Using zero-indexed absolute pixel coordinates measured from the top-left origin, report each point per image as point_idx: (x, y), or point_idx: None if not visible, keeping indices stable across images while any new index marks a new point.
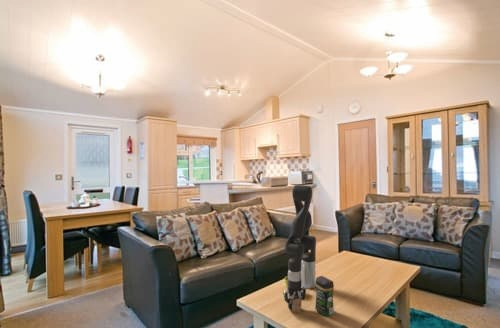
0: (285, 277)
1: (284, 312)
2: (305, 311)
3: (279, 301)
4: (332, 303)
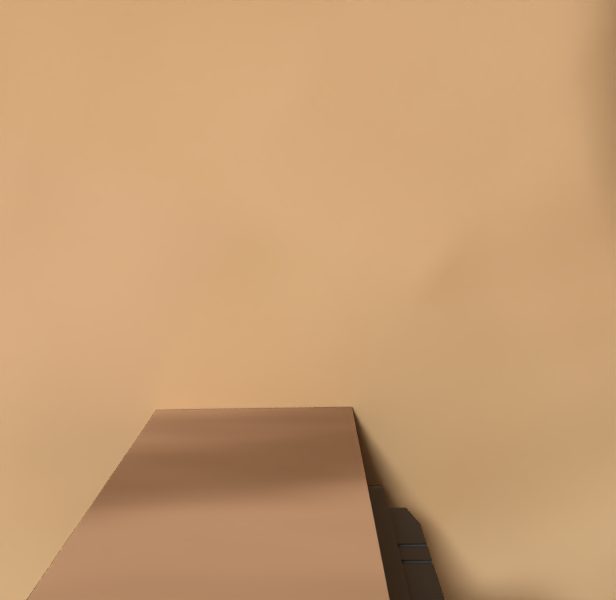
0: None
1: (15, 499)
2: None
3: (56, 24)
4: None
